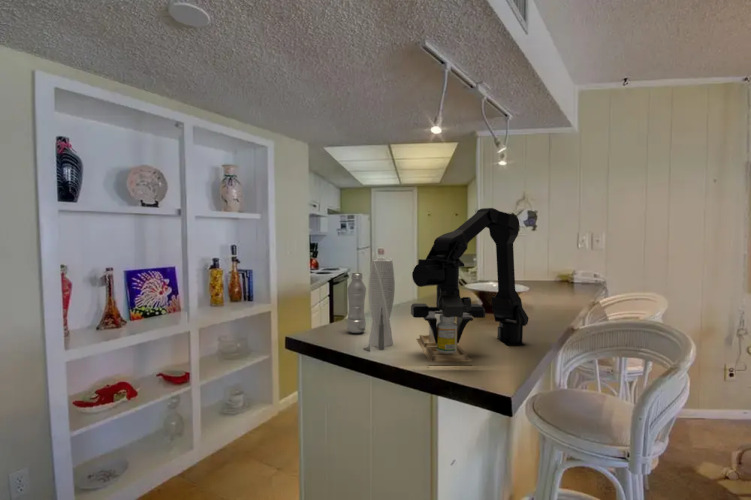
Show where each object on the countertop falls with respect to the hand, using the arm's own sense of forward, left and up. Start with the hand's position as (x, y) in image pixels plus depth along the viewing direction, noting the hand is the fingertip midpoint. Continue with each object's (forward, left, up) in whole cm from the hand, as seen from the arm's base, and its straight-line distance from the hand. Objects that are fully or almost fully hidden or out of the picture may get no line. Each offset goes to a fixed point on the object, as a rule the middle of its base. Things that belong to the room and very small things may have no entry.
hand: (446, 342), depth 105 cm
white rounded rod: (0, -12, -3) cm, 12 cm away
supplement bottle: (0, 0, -3) cm, 3 cm away
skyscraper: (+17, -10, -5) cm, 20 cm away
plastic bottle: (+24, -29, -5) cm, 38 cm away
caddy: (0, -6, -5) cm, 7 cm away
